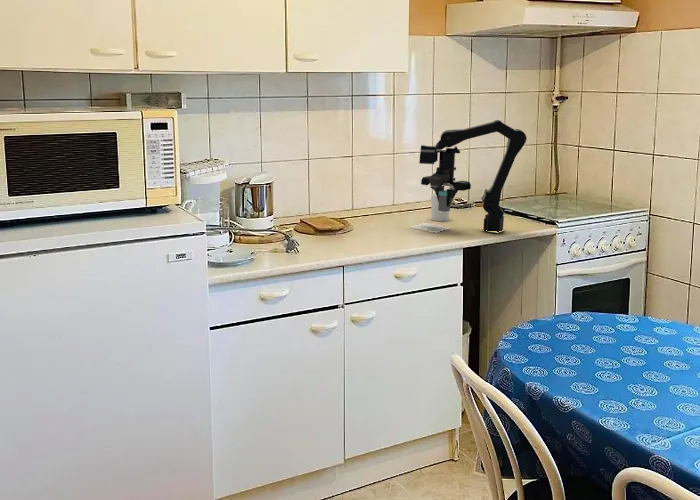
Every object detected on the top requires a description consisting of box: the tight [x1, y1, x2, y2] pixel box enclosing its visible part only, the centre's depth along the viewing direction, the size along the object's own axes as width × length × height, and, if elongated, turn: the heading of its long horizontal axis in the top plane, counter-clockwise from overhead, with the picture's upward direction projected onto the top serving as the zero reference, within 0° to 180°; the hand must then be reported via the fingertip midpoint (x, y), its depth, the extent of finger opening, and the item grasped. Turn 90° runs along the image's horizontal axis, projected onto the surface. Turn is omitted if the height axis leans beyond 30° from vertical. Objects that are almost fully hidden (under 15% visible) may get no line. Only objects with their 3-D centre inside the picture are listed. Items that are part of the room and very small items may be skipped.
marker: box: [438, 189, 451, 212], centre depth 289 cm, size 3×3×7 cm
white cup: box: [430, 193, 450, 222], centre depth 307 cm, size 8×8×10 cm
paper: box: [409, 222, 451, 234], centre depth 293 cm, size 12×10×1 cm
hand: (444, 205), depth 290 cm, fingers closed on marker, 3 cm apart
